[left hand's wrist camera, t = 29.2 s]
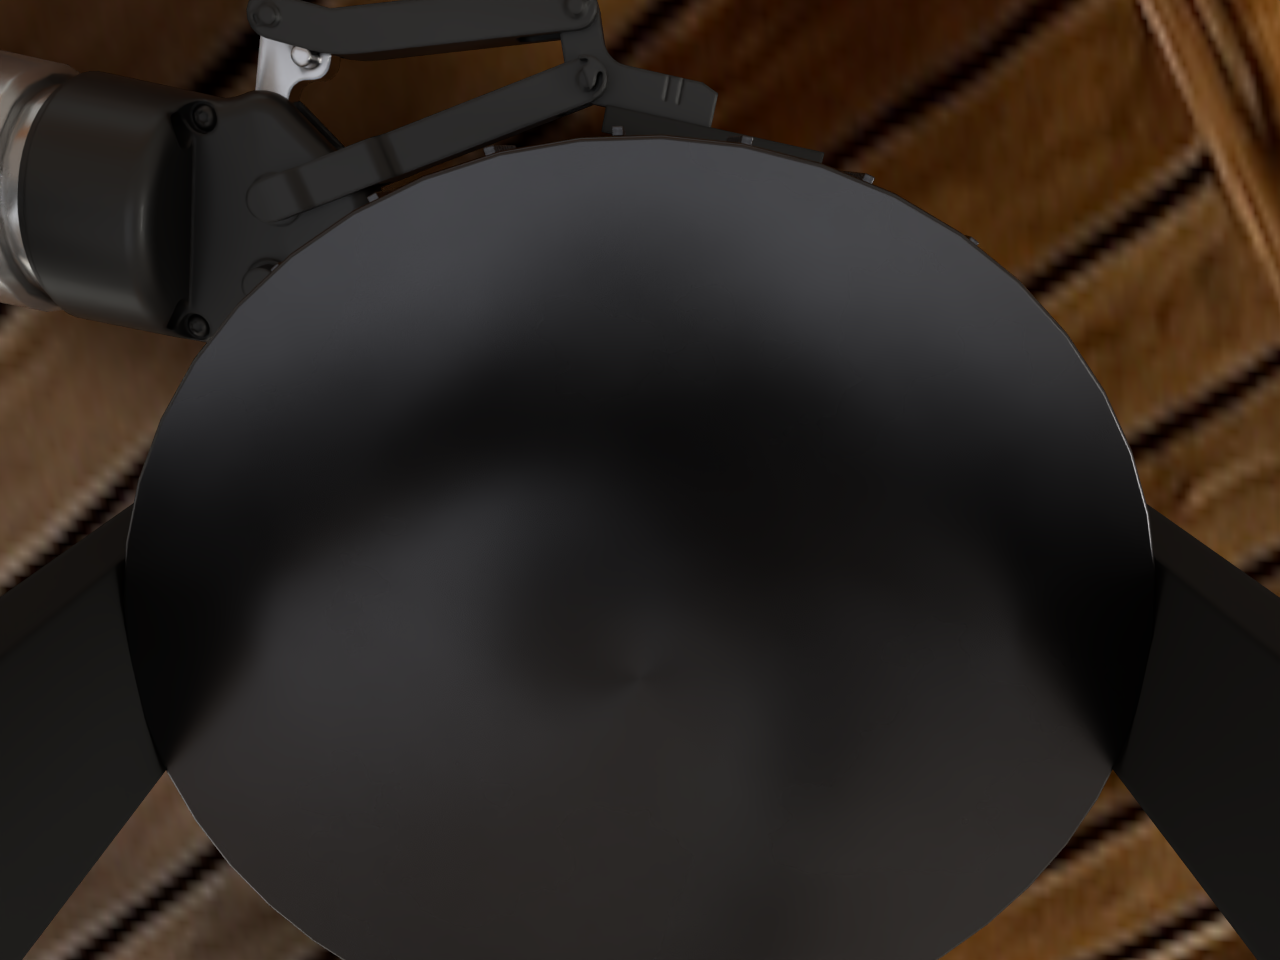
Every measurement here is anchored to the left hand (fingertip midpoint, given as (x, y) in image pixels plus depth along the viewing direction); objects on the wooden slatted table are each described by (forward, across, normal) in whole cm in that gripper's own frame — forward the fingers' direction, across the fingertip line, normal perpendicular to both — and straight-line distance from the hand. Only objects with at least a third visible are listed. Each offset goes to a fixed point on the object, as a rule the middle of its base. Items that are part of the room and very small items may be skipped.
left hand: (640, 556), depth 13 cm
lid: (-3, 0, 0) cm, 3 cm away
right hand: (+18, -4, 0) cm, 18 cm away
